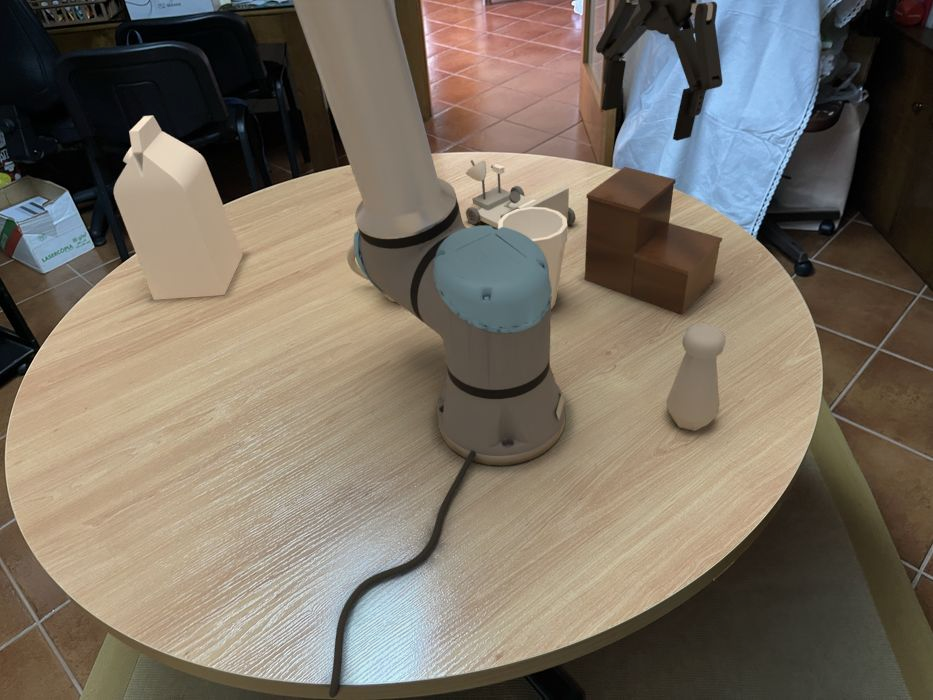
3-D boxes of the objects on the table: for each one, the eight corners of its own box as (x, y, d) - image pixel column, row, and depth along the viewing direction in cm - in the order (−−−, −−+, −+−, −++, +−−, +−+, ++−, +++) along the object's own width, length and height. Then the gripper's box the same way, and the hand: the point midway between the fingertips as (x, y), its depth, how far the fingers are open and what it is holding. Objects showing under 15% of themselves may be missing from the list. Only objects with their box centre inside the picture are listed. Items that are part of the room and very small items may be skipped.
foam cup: (519, 278, 107) (516, 202, 99) (575, 291, 103) (577, 213, 95) (491, 312, 100) (486, 233, 92) (550, 326, 97) (550, 246, 88)
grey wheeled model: (451, 165, 118) (501, 143, 123) (456, 216, 124) (504, 194, 129) (525, 197, 106) (577, 172, 112) (527, 252, 113) (575, 225, 118)
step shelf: (682, 315, 96) (695, 224, 87) (583, 280, 105) (586, 194, 96) (714, 281, 102) (730, 192, 93) (618, 250, 111) (624, 166, 102)
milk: (224, 295, 109) (167, 136, 93) (153, 299, 110) (84, 143, 94) (243, 255, 119) (193, 105, 102) (177, 260, 119) (118, 111, 103)
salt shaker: (685, 394, 84) (699, 308, 76) (726, 418, 81) (746, 330, 72) (654, 417, 82) (666, 331, 73) (695, 443, 78) (712, 355, 70)
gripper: (784, -38, 77) (734, 146, 90) (624, -66, 93) (602, 93, 106) (741, -32, 74) (696, 158, 87) (583, -63, 90) (565, 101, 103)
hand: (644, 122), depth 97 cm, fingers open, 13 cm apart
